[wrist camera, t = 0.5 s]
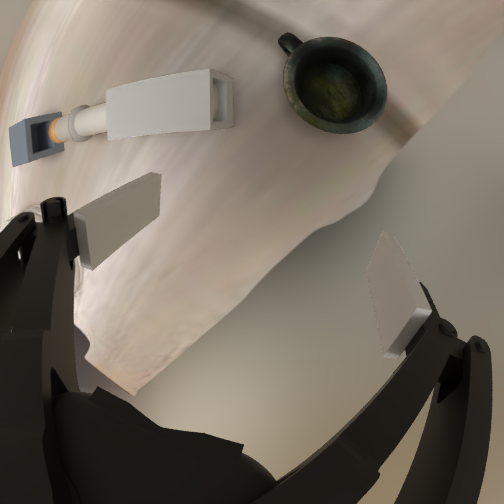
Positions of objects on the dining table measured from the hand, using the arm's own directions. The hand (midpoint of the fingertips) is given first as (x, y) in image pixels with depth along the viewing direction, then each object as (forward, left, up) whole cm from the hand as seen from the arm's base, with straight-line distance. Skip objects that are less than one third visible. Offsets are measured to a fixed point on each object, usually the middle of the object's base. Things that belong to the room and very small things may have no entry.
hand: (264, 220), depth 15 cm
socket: (-8, -52, -27) cm, 60 cm away
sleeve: (-8, -17, -27) cm, 33 cm away
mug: (-11, +4, -28) cm, 30 cm away
